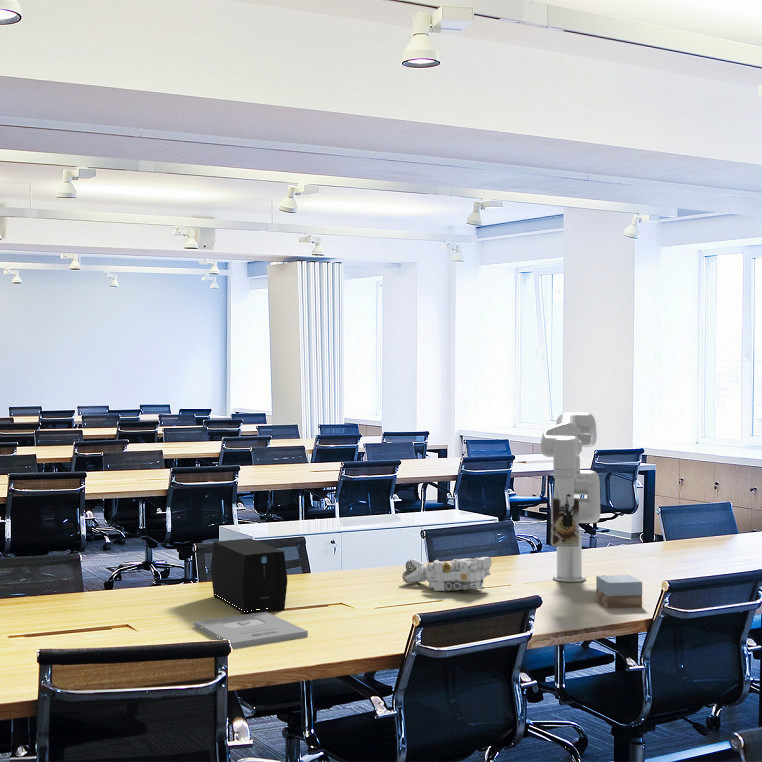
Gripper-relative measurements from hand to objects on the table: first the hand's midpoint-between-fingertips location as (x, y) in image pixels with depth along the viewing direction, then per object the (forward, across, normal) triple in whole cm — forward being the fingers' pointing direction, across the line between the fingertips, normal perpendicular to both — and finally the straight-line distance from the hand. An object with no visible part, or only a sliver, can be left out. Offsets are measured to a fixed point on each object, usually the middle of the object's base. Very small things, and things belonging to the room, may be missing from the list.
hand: (564, 524), depth 341 cm
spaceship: (+28, -28, -38) cm, 55 cm away
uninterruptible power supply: (+28, -13, -110) cm, 115 cm away
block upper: (+23, +3, +18) cm, 30 cm away
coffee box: (+8, 0, 0) cm, 8 cm away
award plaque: (+28, +28, -107) cm, 114 cm away
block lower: (+28, +3, +18) cm, 33 cm away
